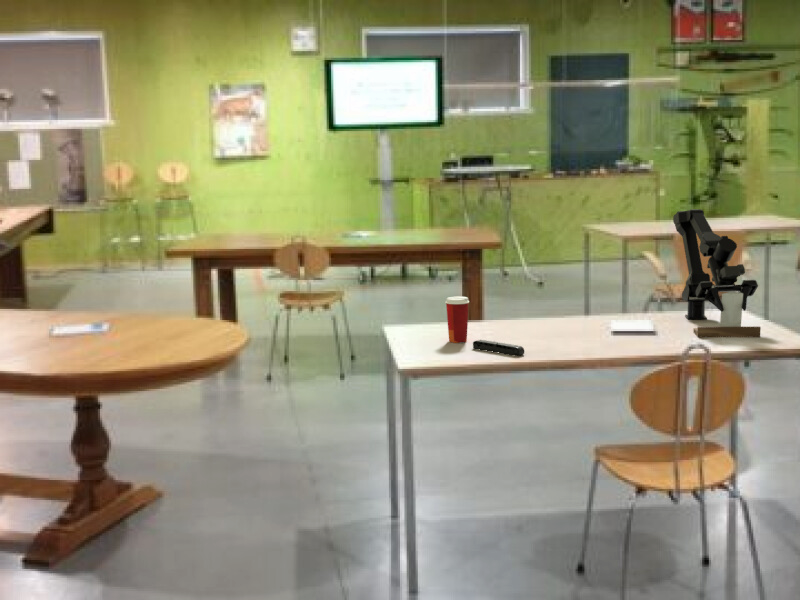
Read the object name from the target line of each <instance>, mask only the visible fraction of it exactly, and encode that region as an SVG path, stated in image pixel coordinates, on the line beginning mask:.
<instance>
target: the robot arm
mask: <svg viewBox="0 0 800 600" xmlns="http://www.w3.org/2000/svg"><path fill="white" fill-rule="evenodd" d="M672 221H673V222H672V223H673V224H674V227H675V229H676V232H677V233H678V234H679V235H680V236H681V237H682V242H683V243H682V244H683V249H684V253H685V259H686V264H687V265H686V266H687V270H688V276H687V278H686V280H685V286H684V288H683V291H682V293H681V299H682V301H684V302H687V314H685V315H684V316H685V318H686V319H687V320H708V317H707V316H706V311H705V310H706V309H705V308H706V307H705V306H706V302H707V301H708V303H711V304H712V305H713V306H714V307H716V308H717V310H719V311H720V313H721V312H723V310H724V309H723V305H722V299H721V298H720V295H719V293H728V292H731V291H732V292H738V293H743V303H742V311H744V312H745V311H746V310H747V304H748V303H747V301H748V299H747V298H748V297H752V296H754V294H755V292H756V290H757V289H758V287H759V284H758V282H757V281H756V279H744V280H743V281H742V282H741V284H735V283H738V278H739V277H741V276H742V275H744V274H745V273H746V269H745V266H744V264H743V263H742V264H738V263H737V265H729V264H728V262H730V261H731V260H732V258H733V257H734V254H735V252H736V251H737V247H738V244H737V242H736V241H734V240H733V239H731V238H729V237H728V235H721V236H720V235H719V234H716V233H715V232H714V231H713V229H712V227H711V226H710V224H709V222H708V220H707V218H706V216H705V211H704V209H701V208H699V209H697V208H695V209H694V208H693V209H692V208H691V209H690V208H689V209H688V210H677V211H676V213H674V215H673V218H672ZM698 239H699V241H700V243H699V241H698ZM701 256H703V257H705V258H706V257H708V261H707V265H706V268H707V269H710V272H711V275H710V274H709V273H708V272H707V273H706V272H705V271H704V269H703V264H702V258H701ZM711 276H712V278H711ZM713 282H714V283H713Z"/></svg>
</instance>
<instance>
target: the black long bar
mask: <svg viewBox="0 0 800 600" xmlns="http://www.w3.org/2000/svg"><path fill="white" fill-rule="evenodd" d="M473 348H474V349H473ZM472 349H473V350H476V349H480V350H479V351H482V350H487V351H486V352H488V351H493V352H492V353H494V352H499V353H498V354H500V353H504V354H503V355H506V354H509V355H508V356H512V355H515V356H514V357H521V356H523V355H524V354H525V348H524V347H523V346H522V345H519V344H517V345H516V344H510V343H505V342H504V343H503V342H497V341H492V340H487V339H486V340H485V339H478V340H474V341H473V342H472Z"/></svg>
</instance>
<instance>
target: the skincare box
mask: <svg viewBox="0 0 800 600" xmlns="http://www.w3.org/2000/svg"><path fill="white" fill-rule="evenodd" d="M721 303H722V305H723V309H724V310H723V312H721V311H720V319H719V321H720V323H719V327H742V317H743V309H742V303H743V293H739V292H738V291H735V292H732V291H731V292H723V293H722V294H721Z"/></svg>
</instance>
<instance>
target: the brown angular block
mask: <svg viewBox="0 0 800 600" xmlns="http://www.w3.org/2000/svg"><path fill="white" fill-rule="evenodd" d="M693 334H694V335H695V336H696V337H697V338H761V326H741V327H720V326H697V327H694V328H693Z"/></svg>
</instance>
